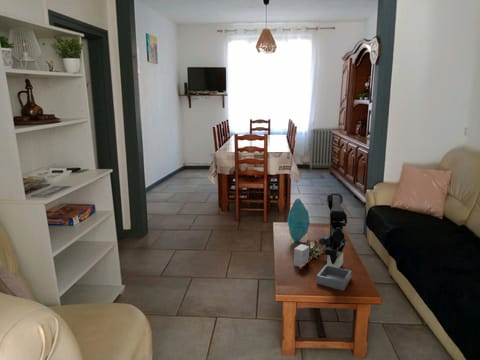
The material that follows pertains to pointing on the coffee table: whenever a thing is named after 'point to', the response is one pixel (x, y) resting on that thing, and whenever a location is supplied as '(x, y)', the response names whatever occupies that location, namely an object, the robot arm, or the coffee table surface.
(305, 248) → the small box
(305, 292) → the coffee table surface
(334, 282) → the grey crate
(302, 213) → the teal pointed ovoid
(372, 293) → the coffee table surface
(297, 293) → the coffee table surface
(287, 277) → the coffee table surface
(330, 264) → the sage crate
